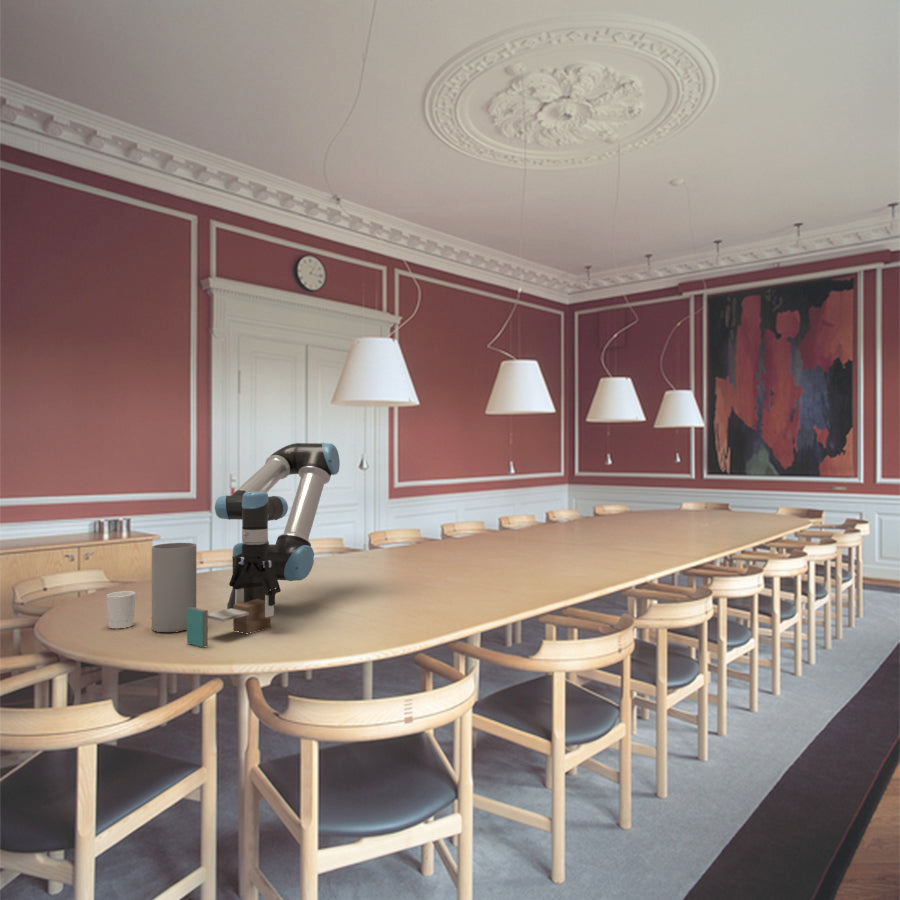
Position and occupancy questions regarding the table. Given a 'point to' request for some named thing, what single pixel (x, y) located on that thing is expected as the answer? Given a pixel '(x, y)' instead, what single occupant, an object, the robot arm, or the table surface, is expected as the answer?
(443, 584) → the table surface
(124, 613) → the white cup
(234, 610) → the wood block with tab
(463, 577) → the table surface
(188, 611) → the tile
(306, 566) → the robot arm
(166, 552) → the cylinder vase
